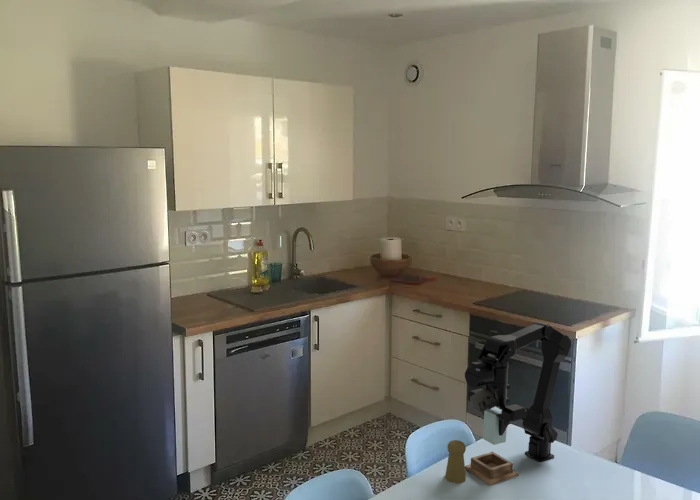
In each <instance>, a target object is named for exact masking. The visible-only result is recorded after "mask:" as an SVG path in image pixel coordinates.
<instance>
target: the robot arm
mask: <svg viewBox="0 0 700 500" xmlns="http://www.w3.org/2000/svg"><path fill="white" fill-rule="evenodd" d="M537 341H539V342H540V351H541V356H542V363H541V364H542V365H541V369H540V372H539V377H538V381H537V385H536V390H535V393H534V397H533V398H534V399H533V402H532V404H531V405H530V406H529V407H524V406H522V405H519V404H517V403H515V404H509V405H507V403H509V402H510V398H509V397H507V395H508V389H511V385H510V384H509V383H508V376H509V366H513V365H514V361H512V360H511V358H512V357H514V356H515V355H516V353H517V352H518V350H520V349H522V348H524V347H526V346H528V345H530V344H532V343H536V342H537ZM571 347H572V341H571V338H570V337H569V336H568V335H567V334H563V333H561V332H560V331H558V330H556V329H555V328H553V327H552V326H551V325H550V324H548V323H545V322H541V321H536V322H533V324H531V325H528V326H526V327H524V328H521V329H519V330H517V331H514V332H512V333H510V334H498V335H493V336H490V337H488V338H487V339H486V341H485V343H484V345H483V346H482V348H481V350H480V353H478V356H477V358H476V360H477V361H474V362H473V361H472V362H470V366H469V367H467V368H466V370H465V371H464V379H465V382H466V384H467V385H468V386H469V387H471V388H477V387H480V388H477V389H472V390H470V391H469V392H468V394H467V401H468V402H470V403H471V406H472V408H473V409H475V410H477V411H478V412H481V413H482V416H483V417H484V411H486V409H489V410H490V409H491V408H493V407H496V408H498V409H501V414H497V415H496V416H497V418H498V419H499V435H500V436H501V435H503V433H504V432H505V430H506V431H507V429H506V428H508V427H509V425H510V423H511V422H516V421H519V420H521V421H522V427H523V430H524V431H523V432H524V434H526V435H529V441H528V448H527V450H526V451H524V453H525V455H527V456H529V457H530V458H532V459H534V460H536V461H537V462H544V461H546V460H550V459H553V458H555V455H554V454H552V453H551V451H552V449H551V448H552V447H551V446H552V444H553V443H555V441H556V440H557V438H558V435H559V434H558V432H557V431H556V430H555V429H554V428H553V416H552V412H551V409H550V407H551V404H552V399H553V395H554V390H555V385H556V382H557V377H558V373H559V369H560V365H561V363H562V362H563V361H565V359H566V358H567V357H568V354H569V351H570V348H571ZM481 387H482V388H481Z"/></svg>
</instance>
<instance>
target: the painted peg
mask: <svg viewBox="0 0 700 500" xmlns="http://www.w3.org/2000/svg"><path fill="white" fill-rule="evenodd" d="M497 414H501V409H498V408H496V407H493V408H491V409H490V410H489V409H486V411H484V416H483V436H482V438H483V440H484V441H485V442H488V443H490V444H492V445H493V446H495V445H499V444H502V443H506V441H507V428H508V427H507V428H506V430H505V432H504V433H503V435H501V436H500V435H499V419H498V418H497V416H496V415H497Z"/></svg>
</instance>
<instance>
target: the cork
mask: <svg viewBox="0 0 700 500" xmlns="http://www.w3.org/2000/svg"><path fill="white" fill-rule="evenodd" d="M446 448H447V452H448V457H447V458H448V459H447V463H446V470H445V476H444V479H445V480H446V481H447V482H449V483H453V484H462V483H465V482H466V480H467V475H466V469H465V466H466V465H465V456H464V455H465V453H466V449H467V448H466V444H465V443H464V442H463V441H462V440H458V439H453V440H451V441H450V440H449V442H448V443H447V446H446Z"/></svg>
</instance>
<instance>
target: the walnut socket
mask: <svg viewBox="0 0 700 500" xmlns="http://www.w3.org/2000/svg"><path fill="white" fill-rule="evenodd" d="M466 470H467V471H468V472H469V473H471V474H472V475H474V476H476V477H477V478H479V479H480V480H482V481H483V482H485V483H486V484H488V485H489V486H492V485H495V484H498V483H501V482H504V481H506V480H507V481H508V480H510V479H513V478H517V477H519V472H518V471H516V470H514V463H513V462H512V461H510V460H508V459H506V458H505V457H503V456H501V455H500V454H498V453H496V452H494V451H489V452H487V453H483V454H480V455H477V456H474V457H471V458H470V464H467V465H465V471H466Z"/></svg>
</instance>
